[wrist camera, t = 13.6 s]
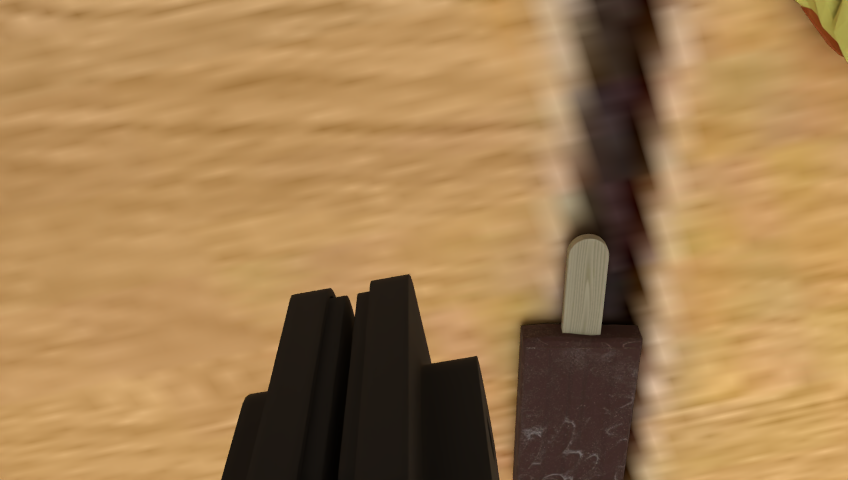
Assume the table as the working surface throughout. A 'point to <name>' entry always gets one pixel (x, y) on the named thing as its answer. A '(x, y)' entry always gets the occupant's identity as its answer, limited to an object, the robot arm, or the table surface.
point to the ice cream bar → (576, 381)
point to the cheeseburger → (829, 21)
